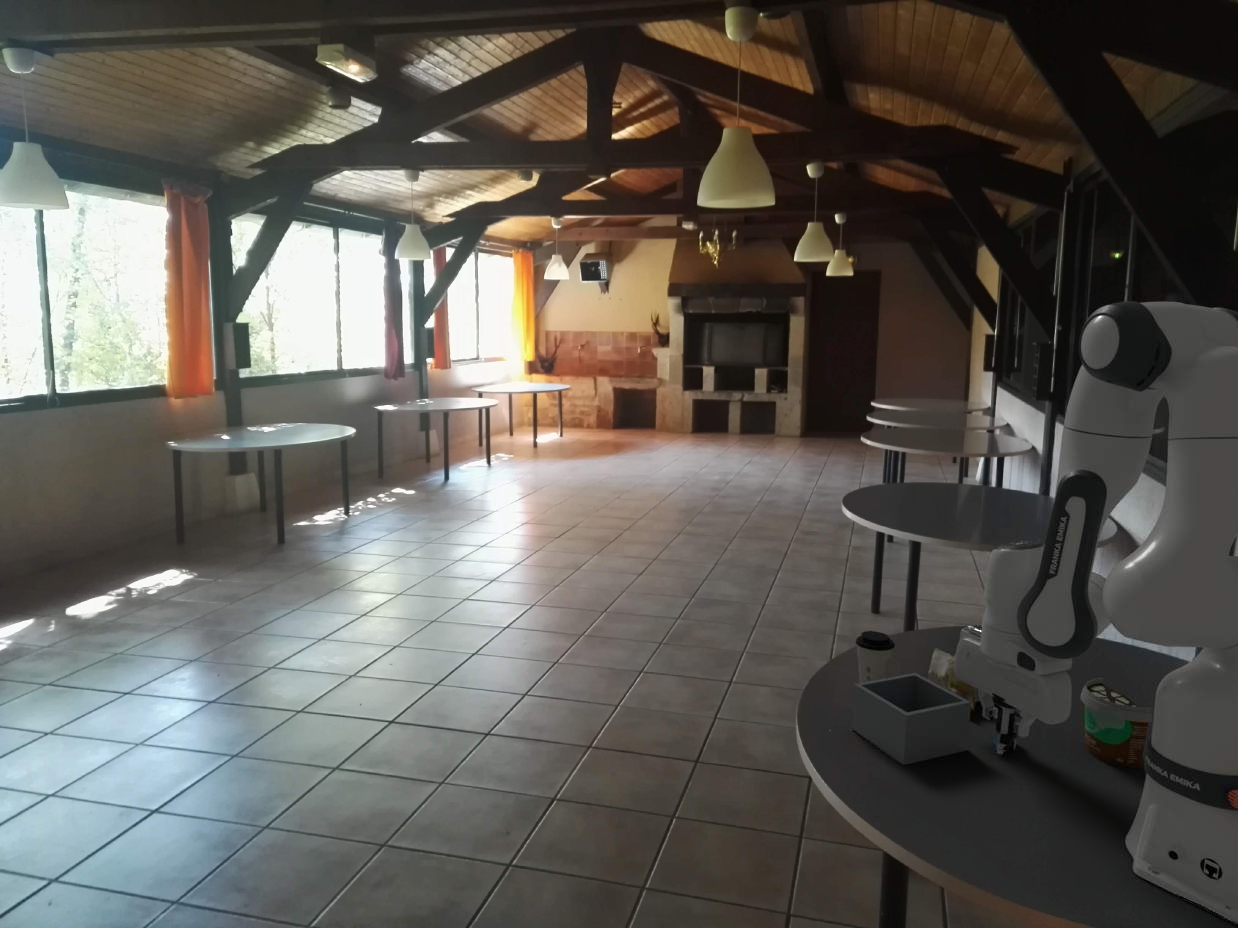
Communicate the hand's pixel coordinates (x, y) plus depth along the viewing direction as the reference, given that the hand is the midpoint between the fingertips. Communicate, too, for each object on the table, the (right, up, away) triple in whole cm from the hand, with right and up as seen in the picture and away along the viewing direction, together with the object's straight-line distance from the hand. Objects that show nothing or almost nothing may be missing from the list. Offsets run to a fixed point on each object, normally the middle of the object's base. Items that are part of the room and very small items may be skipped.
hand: (1005, 726), depth 138 cm
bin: (-14, -3, +3) cm, 15 cm away
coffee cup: (-14, 0, +24) cm, 27 cm away
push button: (0, -4, 0) cm, 4 cm away
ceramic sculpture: (+1, -1, +19) cm, 19 cm away
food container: (+15, -4, -1) cm, 15 cm away
